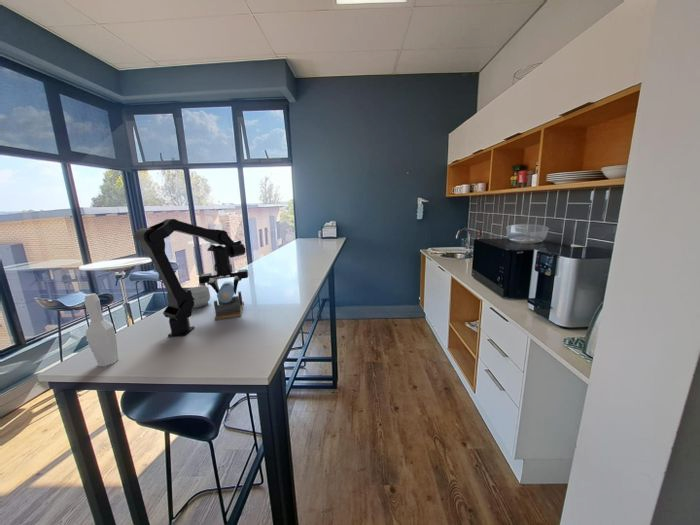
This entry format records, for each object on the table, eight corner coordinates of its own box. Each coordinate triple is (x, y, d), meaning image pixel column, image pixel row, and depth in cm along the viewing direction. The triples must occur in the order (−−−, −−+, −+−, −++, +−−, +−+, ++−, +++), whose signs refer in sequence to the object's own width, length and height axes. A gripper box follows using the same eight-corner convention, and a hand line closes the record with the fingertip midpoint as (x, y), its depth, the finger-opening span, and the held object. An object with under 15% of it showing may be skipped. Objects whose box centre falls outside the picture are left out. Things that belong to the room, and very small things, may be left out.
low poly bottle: (125, 354, 88) (108, 289, 83) (117, 364, 83) (99, 295, 78) (100, 359, 86) (81, 293, 81) (91, 370, 80) (70, 300, 75)
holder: (240, 316, 114) (238, 300, 112) (214, 320, 111) (211, 304, 109) (243, 303, 129) (241, 289, 127) (220, 306, 126) (218, 292, 124)
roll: (233, 301, 113) (231, 287, 112) (218, 303, 112) (215, 289, 110) (236, 292, 125) (235, 280, 124) (222, 294, 123) (220, 281, 122)
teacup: (203, 309, 124) (200, 292, 122) (180, 310, 125) (176, 293, 123) (218, 298, 138) (216, 283, 136) (197, 299, 138) (194, 284, 136)
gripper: (246, 254, 125) (251, 287, 128) (201, 258, 120) (207, 292, 123) (245, 258, 114) (250, 294, 118) (195, 264, 109) (202, 300, 113)
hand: (227, 295), depth 118 cm, fingers closed on roll, 6 cm apart
